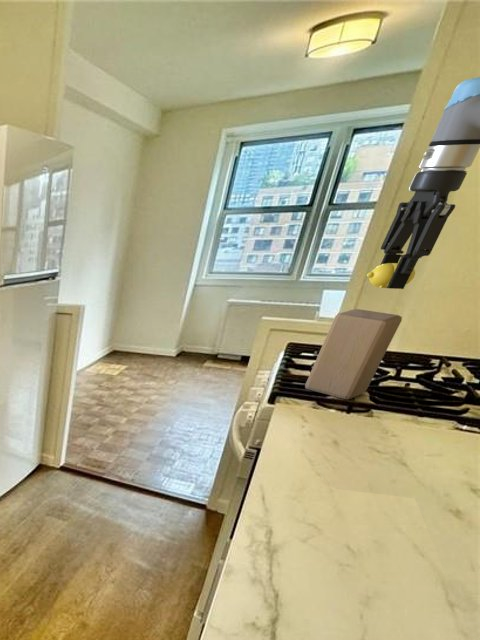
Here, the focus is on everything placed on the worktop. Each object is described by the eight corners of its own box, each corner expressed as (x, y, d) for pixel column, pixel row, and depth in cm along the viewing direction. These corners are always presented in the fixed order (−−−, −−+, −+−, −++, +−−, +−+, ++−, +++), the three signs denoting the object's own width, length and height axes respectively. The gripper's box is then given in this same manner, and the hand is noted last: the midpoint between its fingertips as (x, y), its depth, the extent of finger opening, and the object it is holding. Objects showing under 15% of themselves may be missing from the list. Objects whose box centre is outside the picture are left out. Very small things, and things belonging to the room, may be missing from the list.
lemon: (398, 286, 113) (410, 262, 110) (413, 290, 108) (426, 265, 106) (355, 284, 115) (366, 261, 112) (368, 288, 110) (379, 264, 108)
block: (365, 393, 124) (405, 315, 115) (348, 401, 120) (388, 320, 110) (319, 382, 132) (353, 307, 122) (301, 389, 127) (335, 312, 118)
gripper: (393, 171, 109) (346, 278, 120) (451, 169, 93) (391, 292, 105) (434, 170, 107) (383, 280, 118) (500, 168, 92) (434, 294, 103)
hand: (387, 285), depth 111 cm, fingers closed on lemon, 5 cm apart
